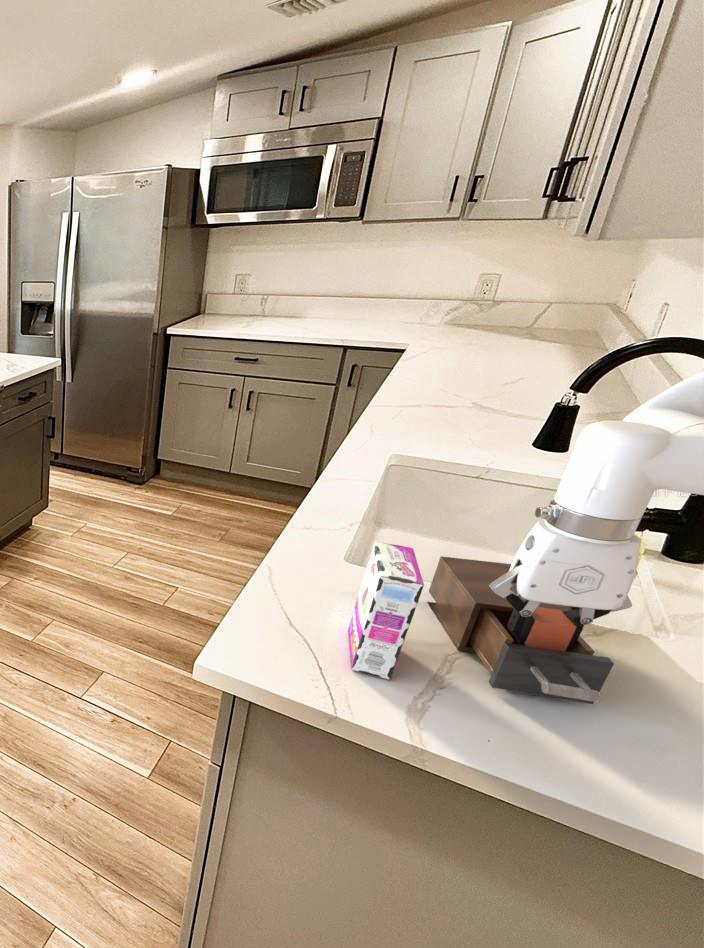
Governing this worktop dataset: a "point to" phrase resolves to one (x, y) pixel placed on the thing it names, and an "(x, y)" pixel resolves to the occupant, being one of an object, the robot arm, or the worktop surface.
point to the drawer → (537, 662)
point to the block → (550, 630)
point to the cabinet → (468, 596)
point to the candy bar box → (384, 609)
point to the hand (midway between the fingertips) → (539, 638)
